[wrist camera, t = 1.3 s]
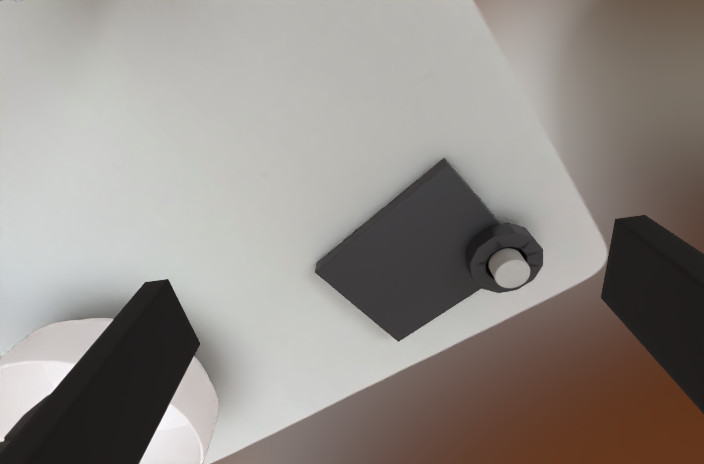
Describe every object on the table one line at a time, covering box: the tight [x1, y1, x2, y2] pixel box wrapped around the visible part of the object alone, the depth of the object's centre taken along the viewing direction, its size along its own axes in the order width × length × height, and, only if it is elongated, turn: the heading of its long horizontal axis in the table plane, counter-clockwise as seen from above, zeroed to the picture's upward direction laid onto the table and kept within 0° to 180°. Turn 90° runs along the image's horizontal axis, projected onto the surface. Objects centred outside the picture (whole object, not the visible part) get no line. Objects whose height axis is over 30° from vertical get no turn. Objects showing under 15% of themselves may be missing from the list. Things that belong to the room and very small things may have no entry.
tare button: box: [488, 248, 530, 288], centre depth 29 cm, size 3×3×2 cm
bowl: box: [0, 318, 219, 464], centre depth 36 cm, size 20×20×8 cm
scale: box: [315, 158, 543, 342], centre depth 31 cm, size 15×12×3 cm
